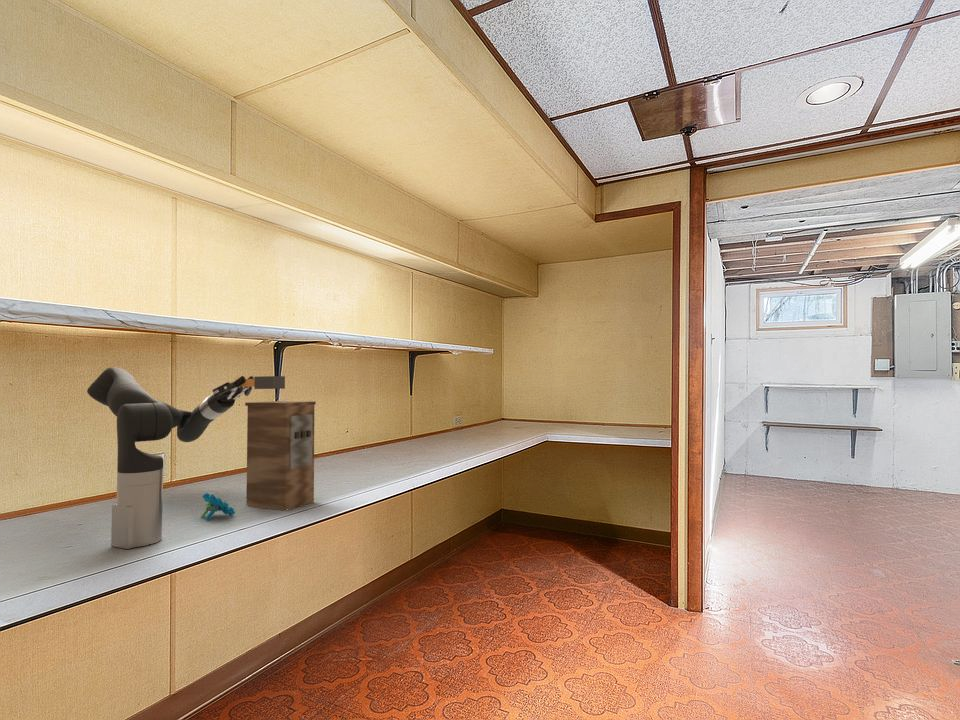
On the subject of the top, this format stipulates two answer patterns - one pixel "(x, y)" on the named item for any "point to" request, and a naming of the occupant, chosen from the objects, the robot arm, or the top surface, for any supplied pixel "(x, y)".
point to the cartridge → (265, 382)
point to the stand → (280, 454)
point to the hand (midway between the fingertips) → (248, 378)
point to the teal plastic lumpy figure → (216, 506)
